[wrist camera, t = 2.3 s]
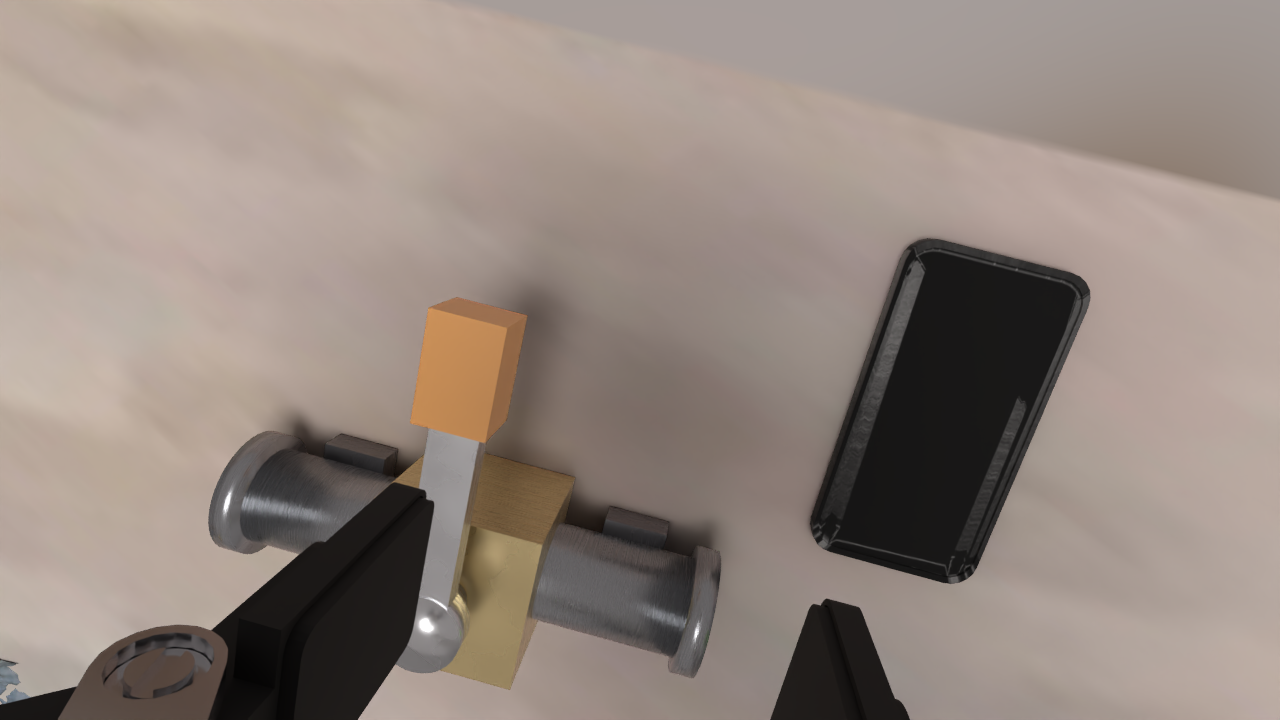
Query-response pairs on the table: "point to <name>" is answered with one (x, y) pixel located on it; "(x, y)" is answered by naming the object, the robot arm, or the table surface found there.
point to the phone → (946, 408)
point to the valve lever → (456, 455)
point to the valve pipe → (488, 550)
